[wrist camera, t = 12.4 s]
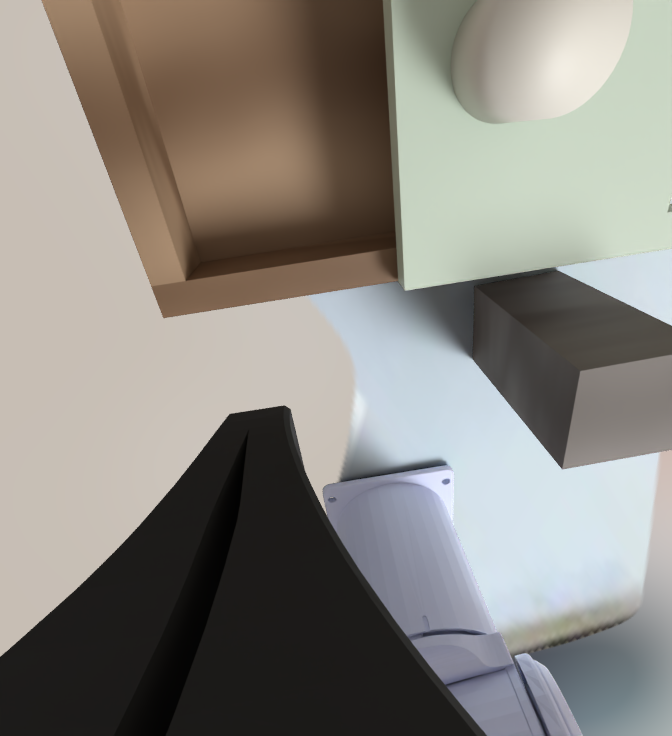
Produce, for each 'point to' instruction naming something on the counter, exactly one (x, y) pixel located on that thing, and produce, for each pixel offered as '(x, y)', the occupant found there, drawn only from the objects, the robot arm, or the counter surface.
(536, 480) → the counter surface
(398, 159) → the lid
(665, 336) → the block
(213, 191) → the brown box
